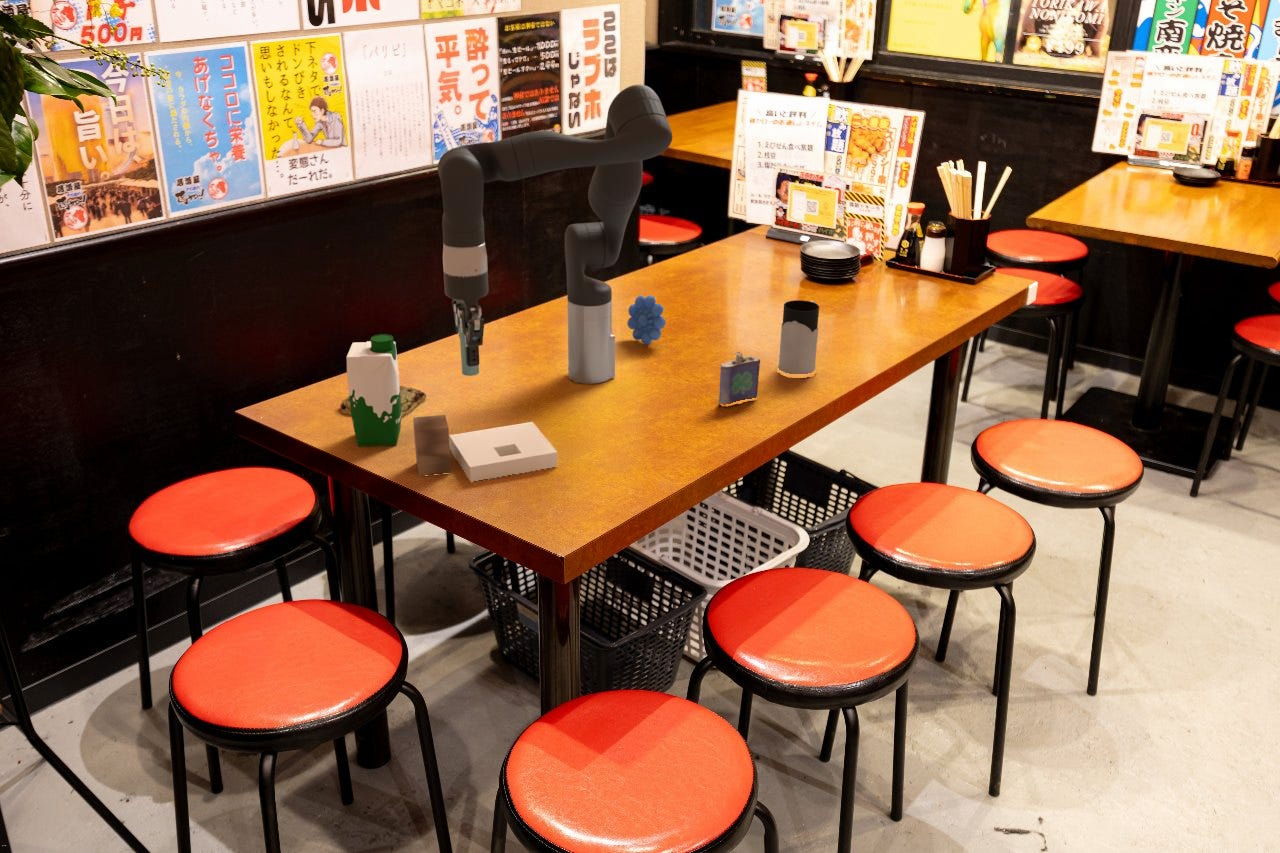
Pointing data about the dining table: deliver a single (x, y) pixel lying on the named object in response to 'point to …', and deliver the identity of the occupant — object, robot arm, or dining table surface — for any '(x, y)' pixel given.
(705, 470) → the dining table surface
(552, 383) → the dining table surface
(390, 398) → the milk carton
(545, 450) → the board
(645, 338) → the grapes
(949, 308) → the dining table surface
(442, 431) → the grey brown block
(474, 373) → the peg
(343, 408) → the pastry
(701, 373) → the dining table surface
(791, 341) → the glass holder
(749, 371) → the flask
